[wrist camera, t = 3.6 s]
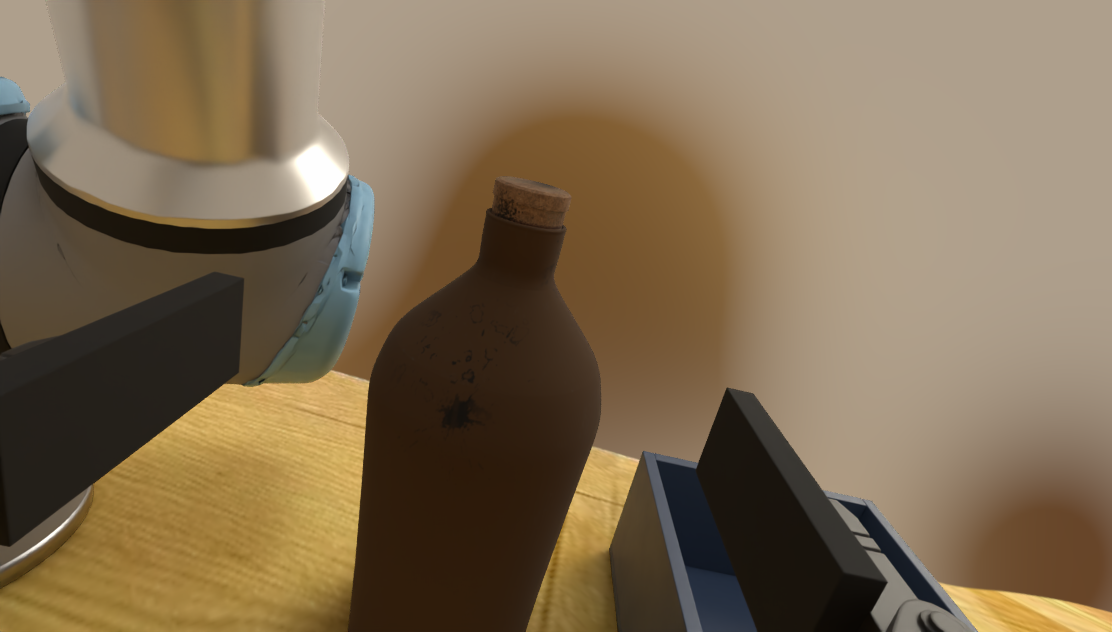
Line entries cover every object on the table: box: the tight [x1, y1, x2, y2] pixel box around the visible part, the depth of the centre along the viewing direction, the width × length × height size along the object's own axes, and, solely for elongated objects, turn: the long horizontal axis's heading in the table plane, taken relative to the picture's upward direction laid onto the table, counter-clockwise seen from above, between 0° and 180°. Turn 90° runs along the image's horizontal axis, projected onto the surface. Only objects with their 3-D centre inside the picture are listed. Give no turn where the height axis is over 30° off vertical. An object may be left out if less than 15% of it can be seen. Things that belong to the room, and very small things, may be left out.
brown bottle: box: [348, 176, 601, 632], centre depth 27 cm, size 11×11×25 cm
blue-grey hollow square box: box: [609, 451, 978, 632], centre depth 31 cm, size 17×17×9 cm
